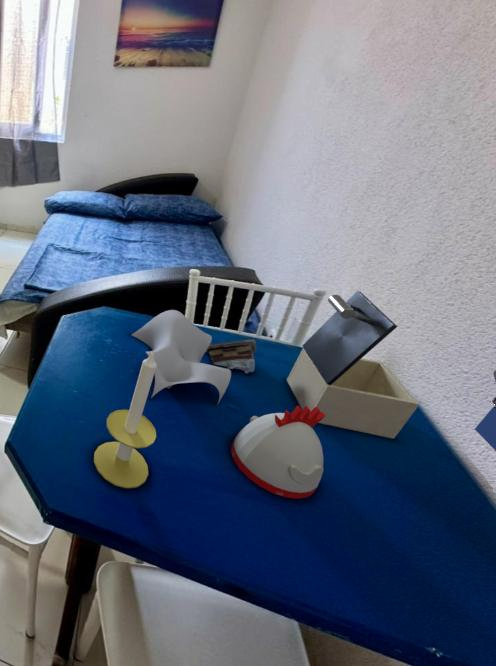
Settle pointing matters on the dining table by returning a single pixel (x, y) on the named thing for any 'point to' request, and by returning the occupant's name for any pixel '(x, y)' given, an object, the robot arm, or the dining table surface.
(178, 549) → the dining table surface
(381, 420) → the open box
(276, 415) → the kitchen timer
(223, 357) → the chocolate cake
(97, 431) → the dining table surface
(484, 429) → the blue block
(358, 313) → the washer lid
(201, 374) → the sculpture
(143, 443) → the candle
